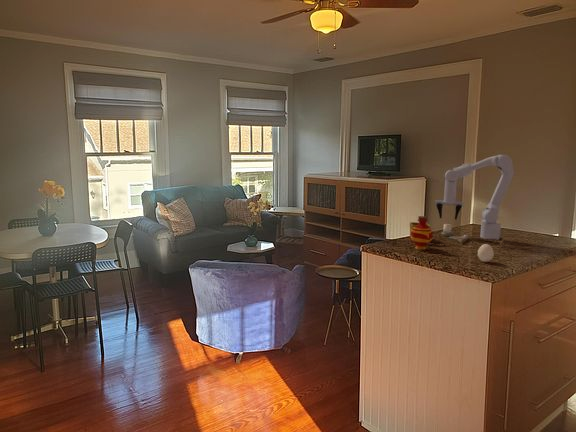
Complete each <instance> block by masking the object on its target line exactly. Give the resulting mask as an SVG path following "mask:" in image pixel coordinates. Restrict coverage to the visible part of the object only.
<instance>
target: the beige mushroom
mask: <svg viewBox="0 0 576 432" xmlns="http://www.w3.org/2000/svg"><path fill="white" fill-rule="evenodd" d="M452 227H453V225H452V224H451V223H444V224H443V228H442V229H443V230H442V231H441V232H440V235H444V236H445V237H450V236H454V233H453V232H452V229H453V228H452Z"/></svg>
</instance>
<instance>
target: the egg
mask: <svg viewBox="0 0 576 432" xmlns="http://www.w3.org/2000/svg"><path fill="white" fill-rule="evenodd" d="M493 249H494V248H493V247H492V246H491V245H490V244H487V243H484V244H481V246H479V248H478V250H477V257H478V259H479V260H480V261H481V262H483V263H489V262H490V261H491V260H492V259H493V258H494V250H493Z"/></svg>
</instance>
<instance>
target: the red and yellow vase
mask: <svg viewBox="0 0 576 432" xmlns="http://www.w3.org/2000/svg"><path fill="white" fill-rule="evenodd" d="M417 218H418V219H417V222H418V223H419V224H418V225H417V226H415V227H413V228H412V229H411V230H410V229H409V236H410V239H411V241H412V242H413V243H414V245H415V247H414V249H416V250H426V249H427V246H428V245H429V244H430V243H431V242H432V240H433V238H434V237H433V230H432V229H431V226H430V227H429V226H427V225H426V224H425V223H427V222H428V216H423V215H422V216H417ZM410 231H411V233H410Z"/></svg>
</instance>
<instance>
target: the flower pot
mask: <svg viewBox="0 0 576 432" xmlns="http://www.w3.org/2000/svg"><path fill="white" fill-rule="evenodd" d="M418 224H419V222H413V221H412V222H409V234H410V233H411V231H410V230H411V229H412V228H413V227H415V226H417V225H418ZM425 224H426V225H427V226H429V227H430V228H431V225H430V224H429V223H427V222H426V223H425Z"/></svg>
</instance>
